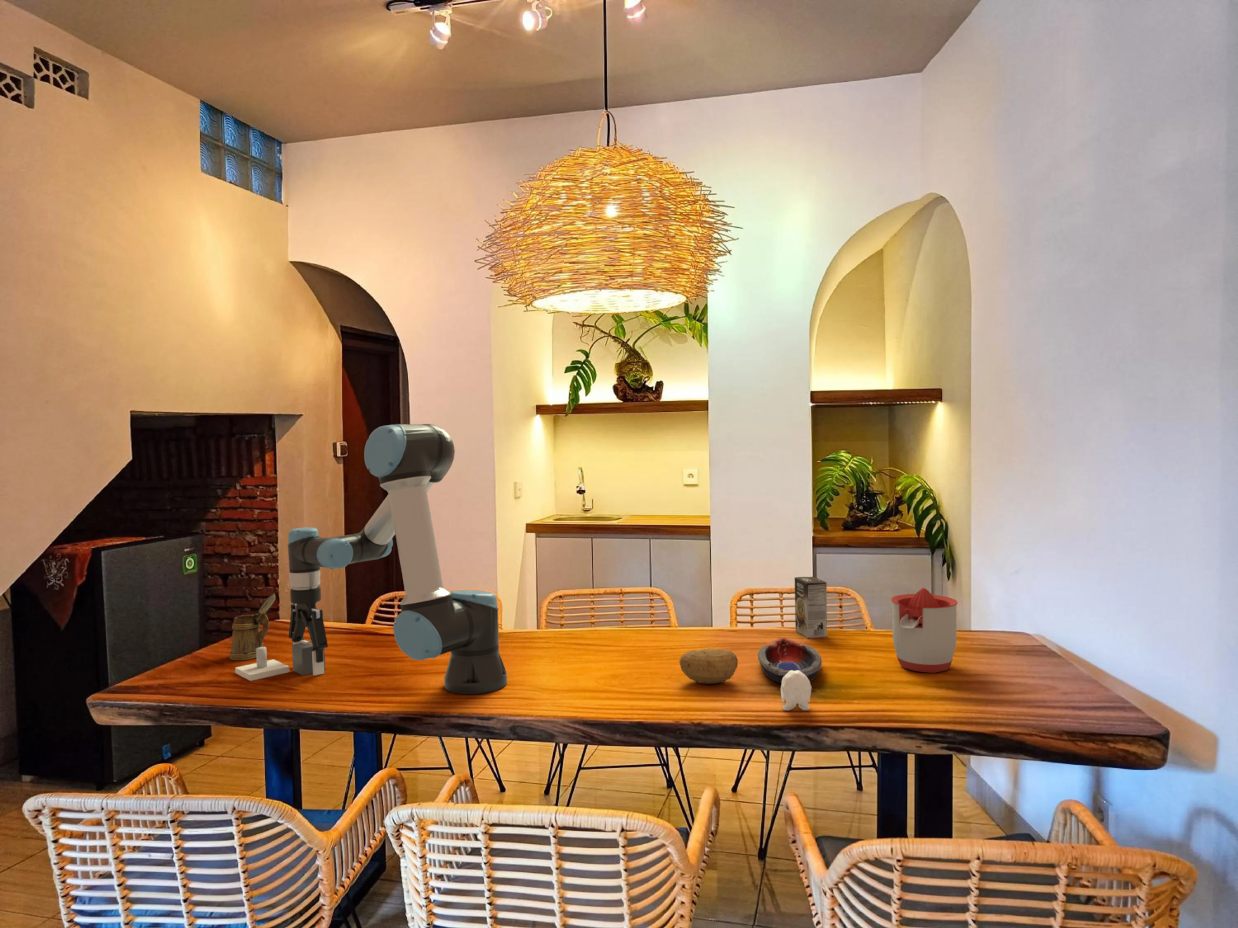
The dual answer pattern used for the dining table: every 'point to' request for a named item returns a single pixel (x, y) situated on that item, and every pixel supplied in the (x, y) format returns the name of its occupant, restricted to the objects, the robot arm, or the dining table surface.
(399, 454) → the robot arm
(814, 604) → the coffee box
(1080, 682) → the dining table surface
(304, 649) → the grey rectangular block
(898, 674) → the dining table surface
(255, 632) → the wooden mug
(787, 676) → the penguin figurine
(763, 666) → the dish
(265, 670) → the white peg base
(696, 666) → the potato
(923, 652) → the citrus juicer
